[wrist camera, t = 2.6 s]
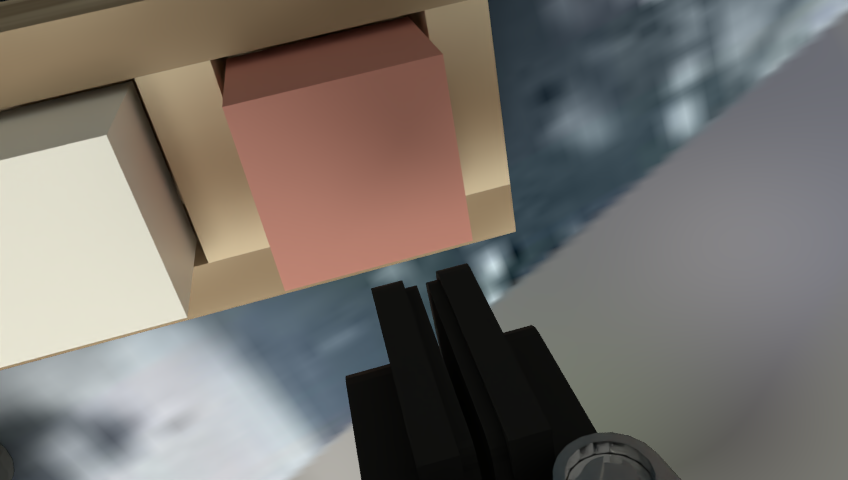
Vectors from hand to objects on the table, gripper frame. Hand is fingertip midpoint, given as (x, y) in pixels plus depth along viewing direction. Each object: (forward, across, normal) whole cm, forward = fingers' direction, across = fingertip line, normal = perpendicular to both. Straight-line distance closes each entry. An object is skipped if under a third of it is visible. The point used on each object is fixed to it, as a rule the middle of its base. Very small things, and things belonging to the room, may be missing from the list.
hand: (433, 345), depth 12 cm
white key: (+10, +8, -1) cm, 13 cm away
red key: (+10, +1, -1) cm, 10 cm away
